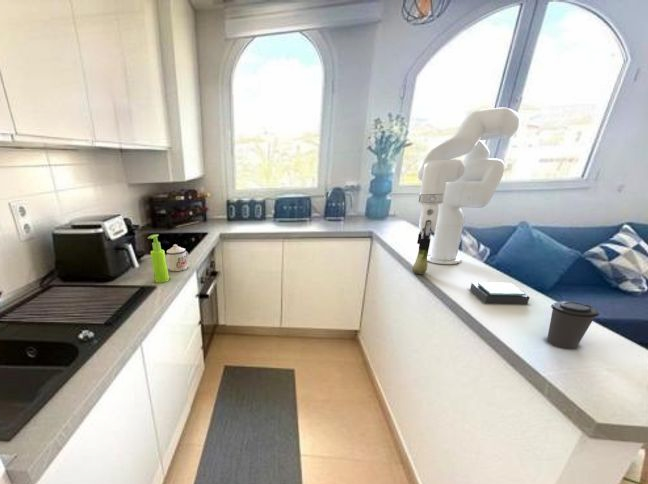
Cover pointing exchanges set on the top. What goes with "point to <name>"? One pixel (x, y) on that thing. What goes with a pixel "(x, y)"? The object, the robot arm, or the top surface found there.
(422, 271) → the fennel bulb
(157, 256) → the soap dispenser
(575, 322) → the coffee cup
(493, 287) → the scale pan
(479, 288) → the scale
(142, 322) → the top surface
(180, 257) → the teacup with lid
